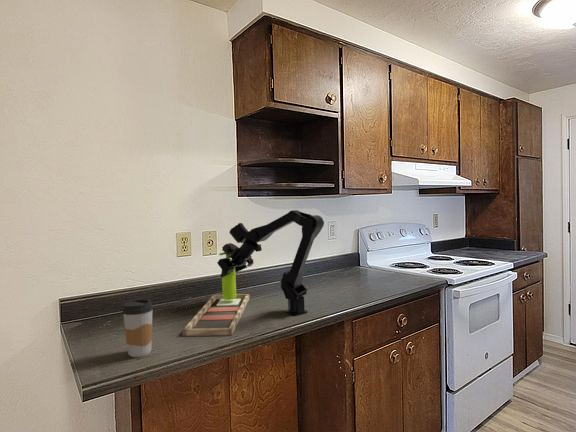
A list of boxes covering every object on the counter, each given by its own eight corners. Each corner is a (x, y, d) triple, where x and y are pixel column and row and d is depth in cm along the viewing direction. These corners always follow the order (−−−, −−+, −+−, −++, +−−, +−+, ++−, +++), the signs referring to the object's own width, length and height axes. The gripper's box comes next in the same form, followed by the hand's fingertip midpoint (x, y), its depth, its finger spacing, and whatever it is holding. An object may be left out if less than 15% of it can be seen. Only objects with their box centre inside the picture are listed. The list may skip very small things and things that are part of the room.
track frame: (231, 335, 118) (231, 329, 118) (182, 335, 118) (182, 330, 118) (249, 298, 162) (249, 293, 161) (213, 299, 162) (213, 294, 162)
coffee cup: (145, 344, 111) (143, 297, 111) (160, 351, 106) (158, 301, 105) (119, 354, 105) (116, 303, 104) (133, 361, 100) (130, 308, 99)
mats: (234, 319, 133) (234, 319, 133) (200, 320, 133) (200, 319, 133) (240, 307, 148) (240, 307, 148) (210, 308, 148) (210, 307, 148)
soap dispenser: (218, 298, 155) (216, 252, 154) (231, 295, 159) (229, 250, 159) (225, 301, 150) (223, 253, 150) (239, 297, 155) (237, 251, 154)
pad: (237, 305, 151) (237, 304, 151) (216, 305, 151) (216, 304, 151) (241, 299, 160) (241, 298, 160) (220, 299, 160) (220, 299, 160)
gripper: (246, 235, 161) (228, 258, 166) (219, 239, 144) (200, 265, 150) (262, 253, 157) (242, 276, 163) (236, 259, 141) (215, 285, 146)
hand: (225, 275), depth 156 cm, fingers closed on soap dispenser, 6 cm apart
